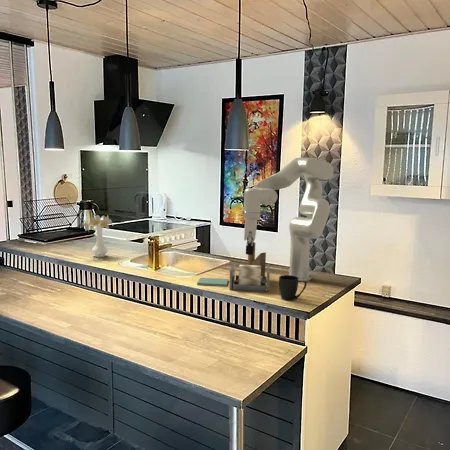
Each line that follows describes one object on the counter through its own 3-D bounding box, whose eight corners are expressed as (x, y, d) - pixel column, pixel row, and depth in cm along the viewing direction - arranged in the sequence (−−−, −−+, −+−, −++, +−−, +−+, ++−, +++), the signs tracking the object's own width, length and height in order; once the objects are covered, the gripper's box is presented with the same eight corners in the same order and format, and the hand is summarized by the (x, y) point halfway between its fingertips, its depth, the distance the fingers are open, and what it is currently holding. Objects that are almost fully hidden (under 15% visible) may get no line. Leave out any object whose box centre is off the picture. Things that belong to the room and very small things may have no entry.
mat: (228, 280, 220) (228, 278, 220) (226, 286, 210) (226, 284, 210) (200, 279, 222) (200, 277, 221) (197, 284, 212) (197, 282, 212)
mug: (302, 304, 186) (303, 282, 185) (275, 299, 192) (276, 278, 191) (308, 299, 193) (309, 278, 192) (282, 294, 199) (283, 274, 198)
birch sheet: (260, 288, 208) (261, 265, 207) (260, 290, 206) (260, 266, 204) (238, 287, 209) (239, 264, 208) (238, 289, 207) (239, 265, 205)
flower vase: (79, 257, 265) (78, 215, 262) (104, 252, 280) (104, 213, 276) (93, 260, 257) (92, 217, 254) (118, 255, 272) (118, 215, 269)
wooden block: (259, 281, 222) (261, 245, 219) (245, 276, 230) (246, 242, 227) (265, 279, 224) (266, 244, 221) (250, 275, 232) (251, 241, 230)
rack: (269, 281, 221) (269, 263, 220) (268, 292, 203) (269, 272, 202) (232, 279, 223) (233, 262, 221) (229, 290, 205) (230, 270, 203)
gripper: (244, 213, 211) (242, 248, 214) (242, 217, 194) (240, 255, 196) (260, 214, 211) (258, 249, 213) (259, 218, 194) (257, 256, 196)
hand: (249, 252), depth 205 cm, fingers open, 9 cm apart
